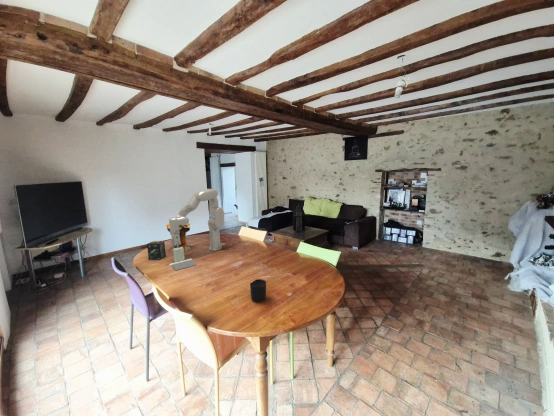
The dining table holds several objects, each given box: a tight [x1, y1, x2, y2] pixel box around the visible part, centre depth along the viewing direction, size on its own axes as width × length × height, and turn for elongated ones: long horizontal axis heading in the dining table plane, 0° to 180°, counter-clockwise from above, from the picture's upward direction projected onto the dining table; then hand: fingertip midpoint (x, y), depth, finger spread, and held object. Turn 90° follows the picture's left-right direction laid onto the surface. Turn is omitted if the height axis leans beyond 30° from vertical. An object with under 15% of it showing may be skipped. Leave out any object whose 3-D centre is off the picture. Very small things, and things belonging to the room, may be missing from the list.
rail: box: [169, 258, 193, 268], centre depth 189 cm, size 18×2×2 cm, turn 130°
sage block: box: [172, 247, 186, 263], centre depth 191 cm, size 7×5×12 cm
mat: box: [171, 260, 197, 272], centre depth 184 cm, size 16×12×1 cm
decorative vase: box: [166, 222, 191, 253], centre depth 222 cm, size 21×23×28 cm
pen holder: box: [249, 278, 267, 303], centre depth 133 cm, size 9×9×10 cm
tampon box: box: [146, 240, 167, 261], centre depth 201 cm, size 11×9×15 cm
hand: (176, 252), depth 196 cm, fingers closed
